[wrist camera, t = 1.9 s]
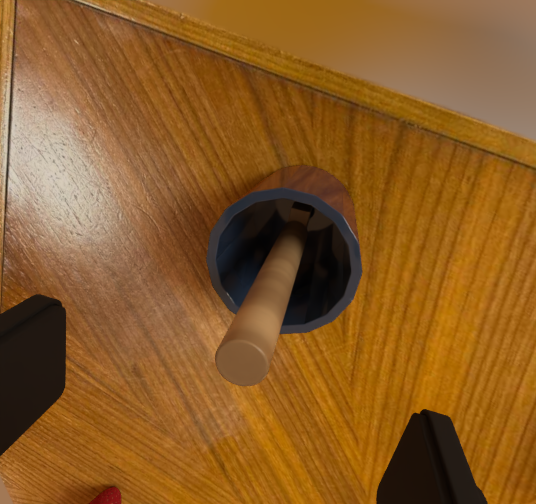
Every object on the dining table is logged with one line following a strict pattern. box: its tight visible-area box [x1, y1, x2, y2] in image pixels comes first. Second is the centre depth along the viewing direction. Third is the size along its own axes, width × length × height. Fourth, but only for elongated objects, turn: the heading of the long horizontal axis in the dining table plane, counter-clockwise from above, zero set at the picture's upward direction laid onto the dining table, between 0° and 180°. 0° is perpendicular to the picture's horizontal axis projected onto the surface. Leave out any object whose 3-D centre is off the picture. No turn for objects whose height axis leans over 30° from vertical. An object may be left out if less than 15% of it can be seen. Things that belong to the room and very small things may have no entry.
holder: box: [206, 165, 362, 334], centre depth 21 cm, size 7×7×9 cm
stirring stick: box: [215, 201, 313, 386], centre depth 18 cm, size 3×2×16 cm, turn 168°
